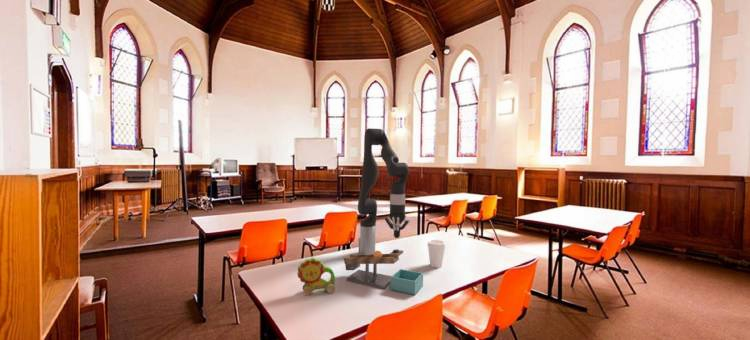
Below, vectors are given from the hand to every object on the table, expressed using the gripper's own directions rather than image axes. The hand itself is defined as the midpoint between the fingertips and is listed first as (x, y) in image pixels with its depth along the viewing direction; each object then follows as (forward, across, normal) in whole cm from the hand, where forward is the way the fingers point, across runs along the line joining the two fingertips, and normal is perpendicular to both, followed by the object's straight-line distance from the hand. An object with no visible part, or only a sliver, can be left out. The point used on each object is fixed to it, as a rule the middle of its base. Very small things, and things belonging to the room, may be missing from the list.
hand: (396, 237), depth 160 cm
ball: (+6, -5, -12) cm, 14 cm away
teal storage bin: (+19, +10, -12) cm, 25 cm away
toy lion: (+19, -23, -35) cm, 46 cm away
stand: (+19, -8, -12) cm, 24 cm away
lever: (+13, -7, -6) cm, 16 cm away
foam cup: (+19, +14, +23) cm, 33 cm away
